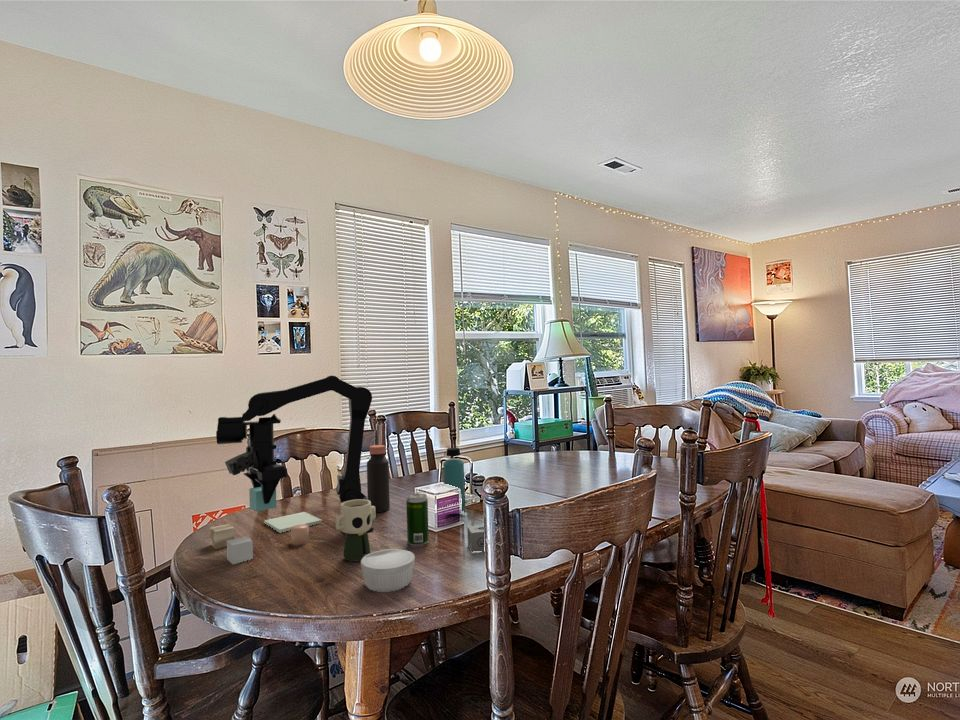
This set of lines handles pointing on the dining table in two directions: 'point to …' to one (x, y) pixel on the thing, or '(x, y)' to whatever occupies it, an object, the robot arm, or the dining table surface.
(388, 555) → the ramekin
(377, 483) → the dark water bottle
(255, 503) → the teal block
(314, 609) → the dining table surface
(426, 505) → the beer can
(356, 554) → the character mug
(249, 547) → the grey plastic block
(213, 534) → the birch block
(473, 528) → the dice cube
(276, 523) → the sage pad
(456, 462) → the beverage bottle
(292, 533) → the terracotta cylinder
